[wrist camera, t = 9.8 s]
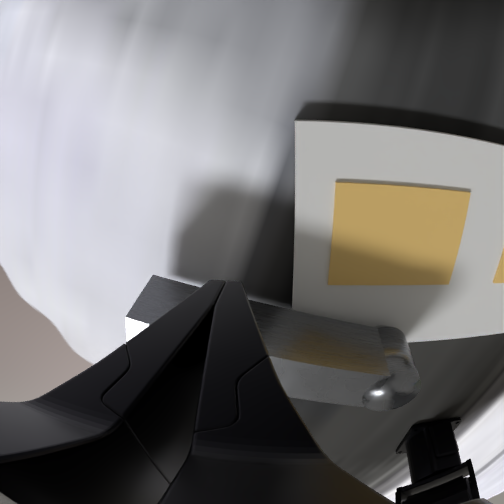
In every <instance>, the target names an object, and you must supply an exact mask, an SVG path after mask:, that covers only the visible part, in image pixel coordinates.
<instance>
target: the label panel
mask: <svg viewBox="0 0 504 504" xmlns="http://www.w3.org/2000/svg"><path fill="white" fill-rule="evenodd" d="M292 310H295V311H299V312H304V313H308V314H313V315H317V316H322V317H327V318H331V319H336V320H341V321H346V322H350V323H355V324H360V325H365V326H370V327H376V328H379V327H385V326H390V327H395V328H398V329H399V330H401V331H402V332H403V333H404V335H405V337H406V340H407V342H420V341H434V340H445V339H456V338H466V337H475V336H483V335H491V334H498V333H504V145H503V144H498V143H494V142H490V141H485V140H481V139H476V138H471V137H466V136H461V135H455V134H450V133H444V132H438V131H431V130H425V129H418V128H410V127H402V126H393V125H384V124H373V123H361V122H347V121H328V120H295V225H294V266H293V294H292Z"/></svg>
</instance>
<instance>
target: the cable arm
mask: <svg viewBox="0 0 504 504" xmlns="http://www.w3.org/2000/svg"><path fill="white" fill-rule="evenodd" d="M199 288H200V287H196V286H193V285H189V284H185V283H181V282H178V281H174V280H170V279H167V278H163V277H159V276H156V275H153V276H152V277H151V279H150V280H149V282H148V283H147V285H146V286H145V288H144V289H143V291H142V292H141V294H140V295H139V297H138V298H137V300H136V302H135V303H134V305H133V306H132V308H131V309H130V311H129V312H128V314H127V316H126V334H127V341H128V340H130V339H131V338H133V337H134V336H135V335H137V334H138V333H139V332H141V331H142V330H143V329H145V328H146V327H148V326H149V325H150V324H152V323H153V322H154V321H156V320H157V319H158V318H160V317H161V316H162V315H164V314H165V313H167V312H168V311H169V310H171V309H172V308H173V307H175V306H176V305H177V304H179V303H180V302H182V301H183V300H184V299H186V298H187V297H188V296H190V295H191V294H192V293H194V292H195V291H197V290H198V289H199ZM249 303H250V306H251V309H252V311H253V314H254V317H255V319H256V322H257V325H258V327H259V330H260V333H261V335H262V338H263V341H264V343H265V346H266V349H267V351H268V354H269V357H270V359H271V361H272V364H273V366H274V369H275V371H276V373H277V376H278V378H279V380H280V382H281V385H282V387H283V388H284V390H285V392H286V394H287V396H288V397H293V398H299V399H305V400H312V401H318V402H326V403H333V404H342V405H350V406H360V407H366V408H368V409H371V410H374V411H386V410H392V409H395V408H398V407H401V406H403V405H405V404H406V403H408V402H410V401H411V400H412V399H413V398H414V397H415V396H416V395H417V394H418V393H419V391H420V388H421V382H420V378H419V375H418V372H417V369H416V366H415V363H414V360H413V357H412V354H411V351H410V349H409V346H408V343H407V340H406V337H405V335H404V333H403V332H402V331H401V330H399V329H398V328H395V327H390V326H385V327H379V328H376V327H370V326H365V325H360V324H355V323H350V322H346V321H341V320H336V319H331V318H327V317H322V316H317V315H313V314H308V313H304V312H299V311H295V310H290V309H286V308H282V307H277V306H273V305H269V304H264V303H260V302H256V301H252V300H249Z"/></svg>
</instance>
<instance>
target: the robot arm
mask: <svg viewBox="0 0 504 504" xmlns="http://www.w3.org/2000/svg"><path fill="white" fill-rule="evenodd" d="M460 422H461V418H460V417H458V418H454V419H449V420H443V421H438V422H432V423H426V424H420V425H415V426H413V427H411V429H410V430H409V432H408V433H407V435H406V436H405V438H404V439H403V441H402V442H401V443H400V445H399V446H398V448H397V449H396V454H401V453H407V457H408V463H409V469H410V476H411V482H412V484H410V485H407V486H404V487H399V488H397V492H396V493H395V495H396V503H394V502H392V501H391V500H389V499H387V498H386V497H384V496H383V495H381V494H379V493H378V492H376V491H375V490H373V489H371V488H370V487H368V486H367V485H365V484H364V483H362V482H361V481H359V480H358V479H356V478H355V477H353V476H352V475H350V474H349V473H347V472H346V471H344V470H343V469H341V468H340V467H338V466H337V465H336V464H335V463H333V462H332V461H331V460H330V459H329V458H328V456H327V455H326V454H325V453H324V452H323V450H322V449H321V448H320V446H319V445H318V444H317V442H316V441H315V439H314V438H313V436H312V434H311V433H310V431H309V430H308V428H307V427H306V425H305V423H304V422H303V420H302V419H301V417H300V415H299V414H298V412H297V411H296V409H295V407H294V406H293V404H292V403H291V401H290V399H289V397H288V396H287V394H286V392H285V390H284V388H283V387H282V385H281V382H280V380H279V378H278V376H277V373H276V371H275V369H274V366H273V364H272V361H271V359H270V357H269V354H268V351H267V349H266V346H265V343H264V341H263V338H262V335H261V333H260V330H259V327H258V325H257V322H256V319H255V317H254V314H253V311H252V309H251V306H250V303H249V300H248V298H247V295H246V292H245V290H244V287H243V284H242V282H241V281H226V282H225V281H223V280H210V281H209V282H207V283H206V284H205V285H203V286H202V287H201V288H199V289H198V290H197V291H195V292H194V293H192V294H191V295H190V296H188V297H187V298H186V299H184V300H183V301H182V302H180V303H179V304H177V305H176V306H175V307H173V308H172V309H171V310H169V311H168V312H167V313H165V314H164V315H162V316H161V317H160V318H158V319H157V320H156V321H154V322H153V323H152V324H150V325H149V326H148V327H146V328H145V329H143V330H142V331H141V332H139V333H138V334H137V335H135V336H134V337H133V338H131V339H130V340H128V341H127V342H126V344H123V345H122V346H120V347H119V348H117V349H116V350H115V351H113V352H112V353H111V354H109V355H108V356H106V357H105V358H103V359H102V360H100V361H99V362H98V363H96V364H94V365H93V366H91V367H90V368H88V369H86V370H85V371H83V372H82V373H80V374H78V375H77V376H75V377H73V378H72V379H70V380H68V381H67V382H65V383H63V384H61V385H60V386H58V387H57V388H55V389H53V390H51V391H50V392H48V393H46V394H44V395H43V396H41V397H39V398H36V399H34V400H30V401H25V402H0V504H492V503H491V502H489V501H488V500H486V499H484V498H480V496H479V491H478V487H477V482H476V478H475V474H474V470H473V466H472V462H471V459H469V460H467V461H466V462H464V463H462V464H461V460H460V456H459V452H458V451H459V449H458V445H457V441H456V438H455V434H454V430H455V429H456V427H457V426H458V425H459V424H460ZM467 475H470V477H468V478H467V477H465V476H467ZM464 477H465V478H464Z"/></svg>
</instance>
